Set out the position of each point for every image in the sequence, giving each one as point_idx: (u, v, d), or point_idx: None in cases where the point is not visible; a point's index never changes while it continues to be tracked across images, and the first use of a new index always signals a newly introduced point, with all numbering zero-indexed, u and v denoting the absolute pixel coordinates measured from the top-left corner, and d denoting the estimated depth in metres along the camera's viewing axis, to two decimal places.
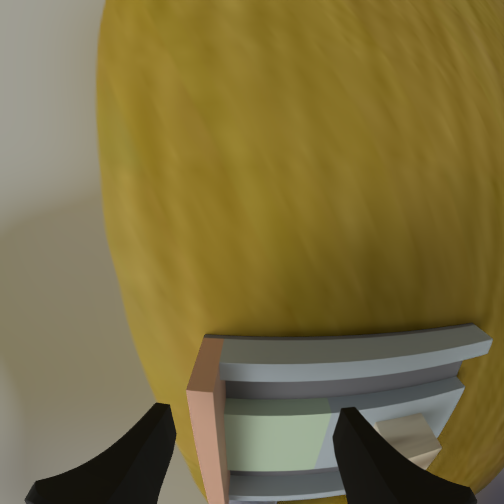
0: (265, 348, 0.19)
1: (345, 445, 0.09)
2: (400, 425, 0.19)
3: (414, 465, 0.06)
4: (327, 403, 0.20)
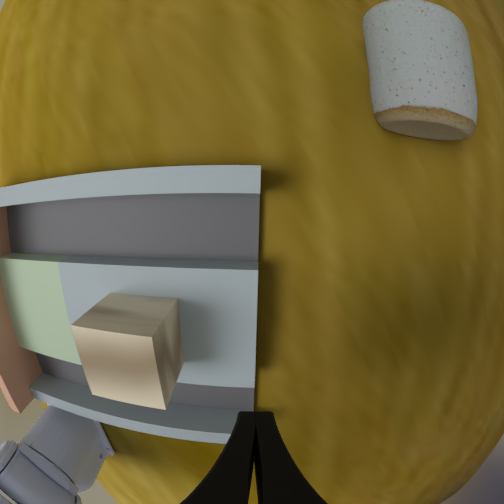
0: None
1: (256, 450, 0.09)
2: (131, 301, 0.16)
3: (306, 486, 0.06)
4: (65, 257, 0.18)
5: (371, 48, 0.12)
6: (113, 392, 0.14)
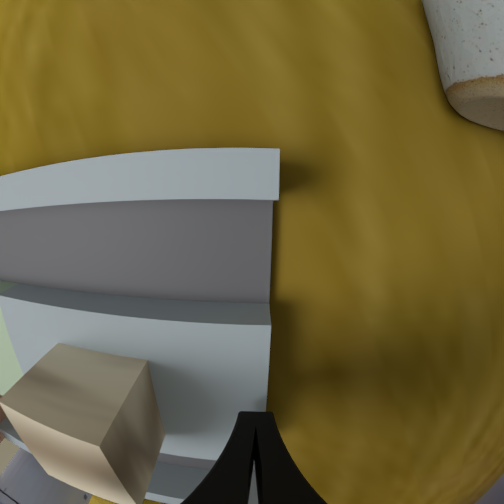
0: None
1: (255, 450, 0.09)
2: (82, 362, 0.10)
3: (306, 486, 0.06)
4: (9, 287, 0.11)
5: None
6: (70, 481, 0.07)
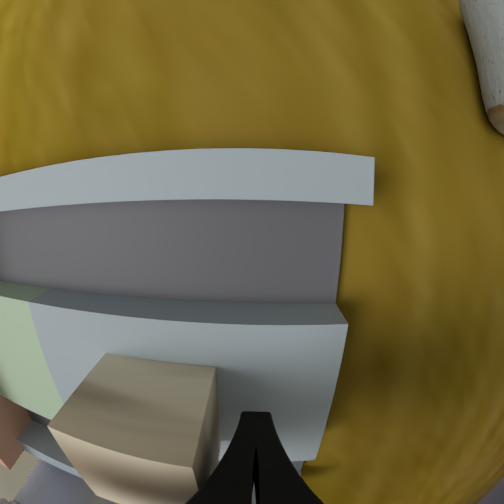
0: None
1: None
2: (141, 374, 0.10)
3: (303, 486, 0.06)
4: (40, 292, 0.11)
5: (487, 25, 0.06)
6: (128, 502, 0.07)
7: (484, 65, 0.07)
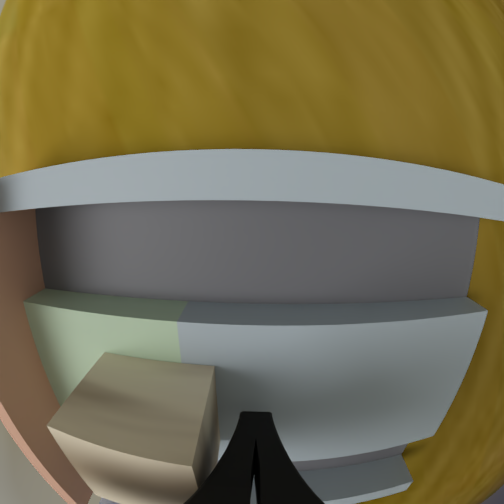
0: None
1: None
2: (140, 373, 0.10)
3: (304, 486, 0.06)
4: (181, 308, 0.11)
5: None
6: (127, 501, 0.07)
7: None
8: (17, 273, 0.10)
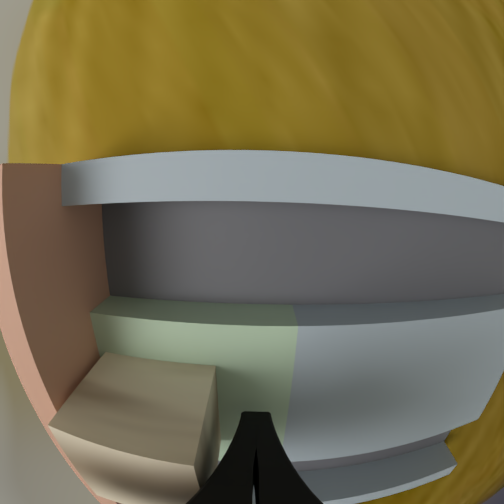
0: None
1: None
2: (141, 373, 0.10)
3: (303, 486, 0.06)
4: (291, 312, 0.11)
5: None
6: (128, 501, 0.07)
7: None
8: (84, 279, 0.10)
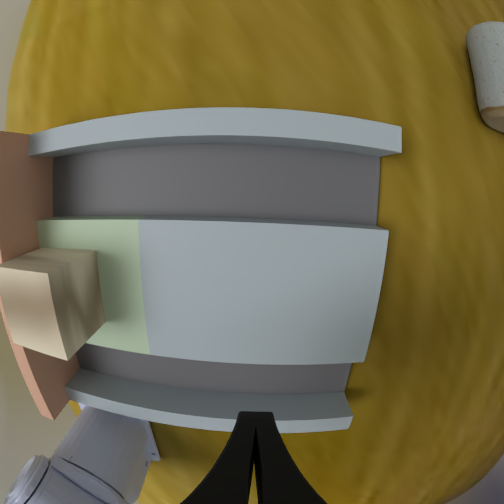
0: None
1: (256, 450, 0.09)
2: (55, 251, 0.15)
3: (306, 486, 0.06)
4: (144, 217, 0.16)
5: (482, 55, 0.11)
6: (27, 339, 0.12)
7: (479, 81, 0.12)
8: (36, 199, 0.15)
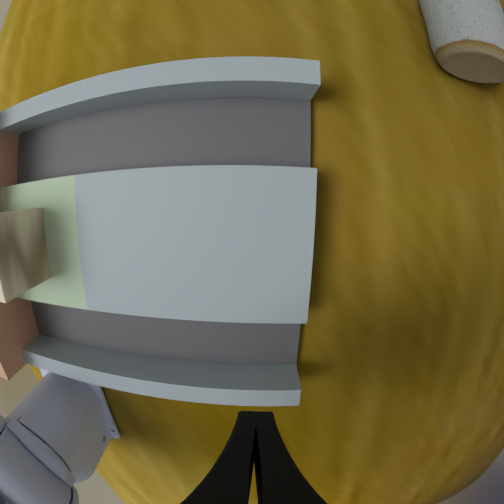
0: None
1: (255, 450, 0.09)
2: (10, 211, 0.14)
3: (306, 486, 0.06)
4: None
5: None
6: None
7: (429, 26, 0.12)
8: (1, 169, 0.14)
